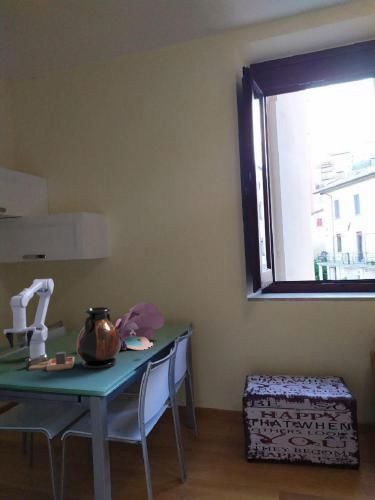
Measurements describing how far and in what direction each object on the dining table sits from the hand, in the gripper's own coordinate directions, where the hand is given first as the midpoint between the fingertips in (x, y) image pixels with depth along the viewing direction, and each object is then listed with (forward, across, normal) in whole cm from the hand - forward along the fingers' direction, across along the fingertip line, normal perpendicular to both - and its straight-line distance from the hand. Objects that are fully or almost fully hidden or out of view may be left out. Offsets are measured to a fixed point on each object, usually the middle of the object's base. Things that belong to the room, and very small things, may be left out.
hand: (20, 346), depth 174 cm
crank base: (+10, +9, 0) cm, 14 cm away
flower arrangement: (+10, +59, +20) cm, 63 cm away
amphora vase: (+11, +39, -10) cm, 41 cm away
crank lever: (+9, +7, +1) cm, 12 cm away
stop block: (+10, +20, -4) cm, 22 cm away
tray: (+10, +20, -4) cm, 23 cm away
